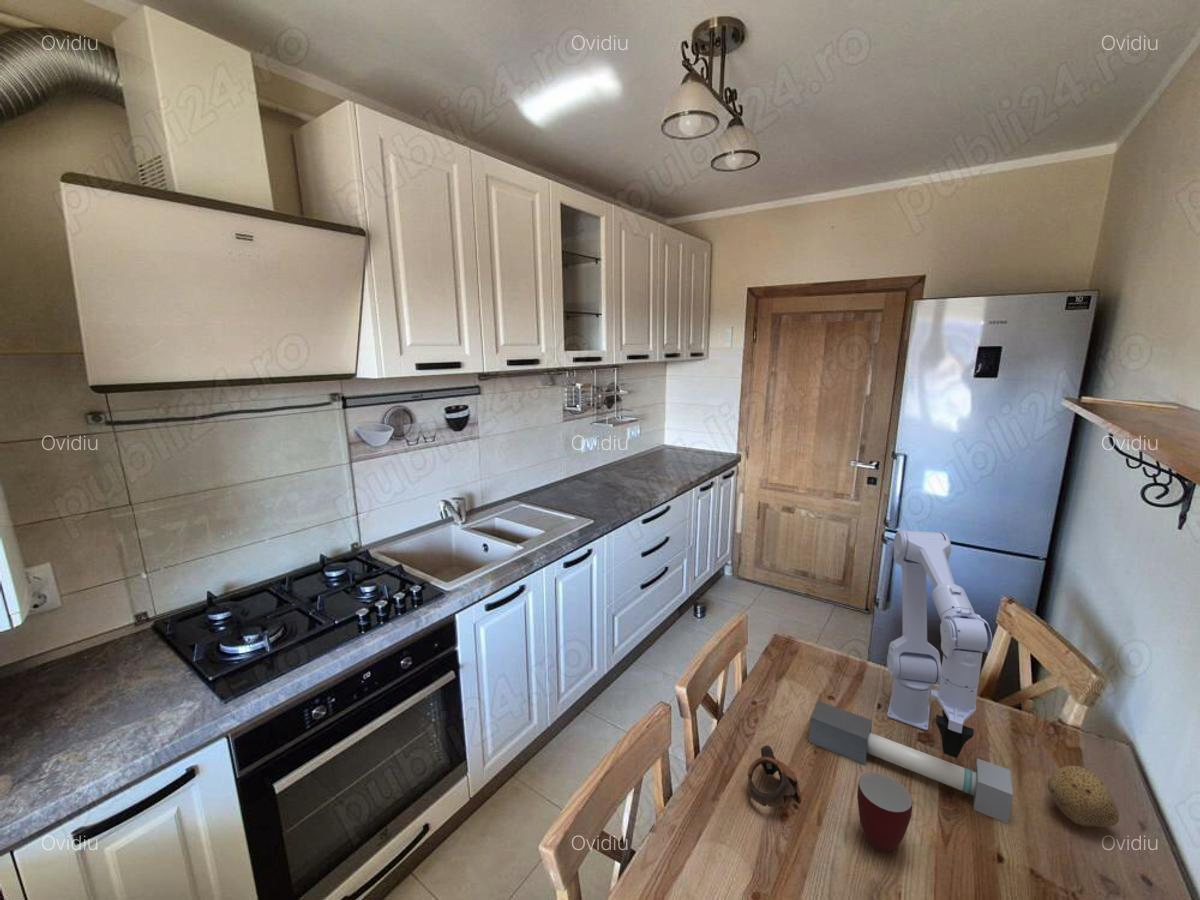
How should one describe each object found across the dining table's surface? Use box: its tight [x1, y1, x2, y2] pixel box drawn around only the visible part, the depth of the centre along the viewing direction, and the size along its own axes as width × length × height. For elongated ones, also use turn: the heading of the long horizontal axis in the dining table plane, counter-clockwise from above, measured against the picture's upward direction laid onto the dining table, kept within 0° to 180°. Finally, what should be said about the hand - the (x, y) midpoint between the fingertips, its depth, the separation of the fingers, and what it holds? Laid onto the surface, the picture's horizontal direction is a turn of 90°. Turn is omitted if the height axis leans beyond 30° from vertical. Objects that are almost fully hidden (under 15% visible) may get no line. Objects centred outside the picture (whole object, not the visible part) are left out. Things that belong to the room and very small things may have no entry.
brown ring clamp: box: [746, 744, 802, 808], centre depth 96 cm, size 12×10×8 cm
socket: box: [972, 758, 1014, 825], centre depth 93 cm, size 5×7×6 cm
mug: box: [856, 772, 914, 853], centre depth 87 cm, size 11×8×10 cm
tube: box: [867, 732, 977, 796], centre depth 100 cm, size 23×4×4 cm, turn 55°
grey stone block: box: [808, 700, 873, 766], centre depth 108 cm, size 11×7×6 cm, turn 54°
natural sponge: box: [1047, 765, 1120, 828], centre depth 89 cm, size 9×9×10 cm
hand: (950, 742), depth 96 cm, fingers open, 7 cm apart
